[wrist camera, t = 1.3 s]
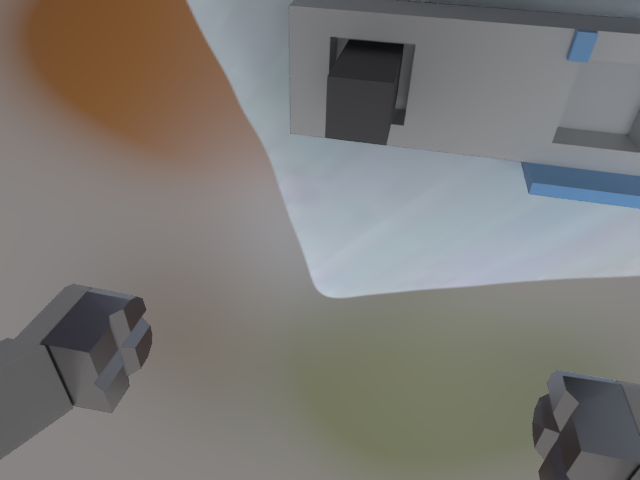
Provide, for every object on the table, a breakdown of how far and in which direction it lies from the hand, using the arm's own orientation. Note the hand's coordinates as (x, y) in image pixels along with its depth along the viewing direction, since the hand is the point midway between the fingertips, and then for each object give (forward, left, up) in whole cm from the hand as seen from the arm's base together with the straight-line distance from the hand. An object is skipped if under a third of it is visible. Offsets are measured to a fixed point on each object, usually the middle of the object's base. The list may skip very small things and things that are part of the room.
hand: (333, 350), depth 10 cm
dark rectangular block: (+3, -2, -25) cm, 26 cm away
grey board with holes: (+3, +6, -26) cm, 27 cm away
